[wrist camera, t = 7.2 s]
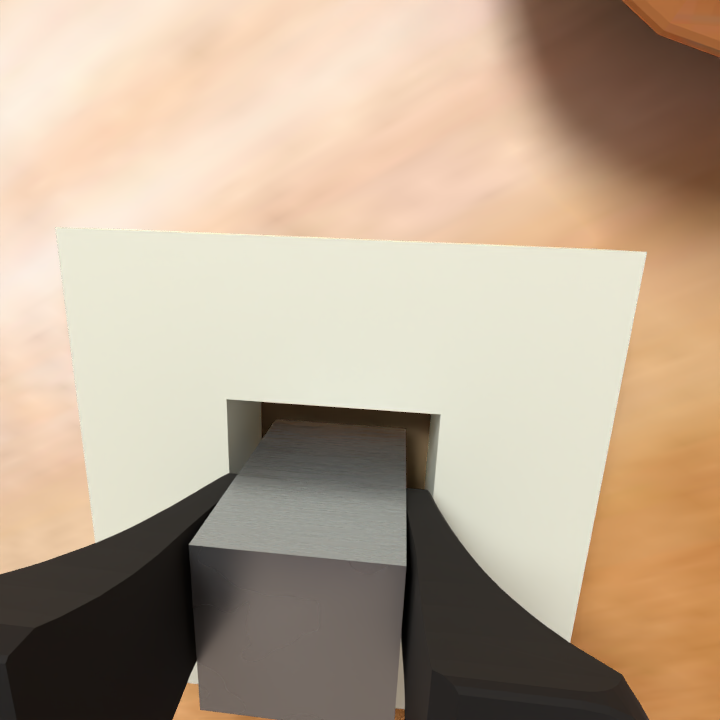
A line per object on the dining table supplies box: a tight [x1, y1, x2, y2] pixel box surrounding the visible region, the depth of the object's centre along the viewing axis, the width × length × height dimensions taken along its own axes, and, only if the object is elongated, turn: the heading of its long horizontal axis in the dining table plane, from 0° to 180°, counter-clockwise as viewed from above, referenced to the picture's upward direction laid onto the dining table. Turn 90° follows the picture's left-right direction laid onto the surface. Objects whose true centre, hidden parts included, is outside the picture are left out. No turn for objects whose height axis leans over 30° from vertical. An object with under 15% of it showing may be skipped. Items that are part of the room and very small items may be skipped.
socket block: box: [55, 227, 647, 709], centre depth 14 cm, size 14×14×3 cm
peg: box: [189, 419, 406, 720], centre depth 12 cm, size 4×4×6 cm
